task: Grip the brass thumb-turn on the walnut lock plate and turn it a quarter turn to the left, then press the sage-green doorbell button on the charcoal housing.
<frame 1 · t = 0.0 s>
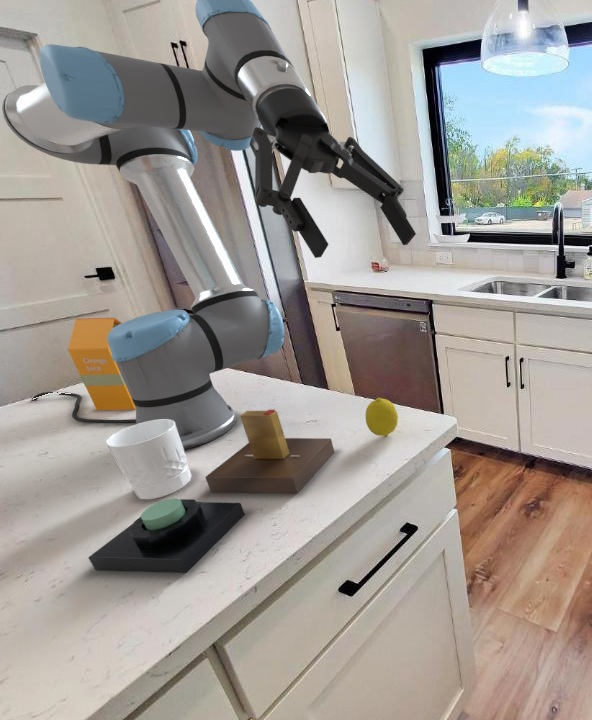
hand: (370, 245, 55), 36 cm above the worktop, tool tilted 35°, fingers open, 13 cm apart
white cup: (165, 486, 67), on the worktop
lemon: (385, 437, 79), on the worktop
doorbell: (176, 540, 56), on the worktop
lock plate: (277, 471, 69), on the worktop
orange juice: (131, 402, 96), on the worktop
bell button: (163, 514, 54), point 4 cm above the worktop, slide at 0.1 cm
lock turn: (265, 434, 67), point 7 cm above the worktop, hinge at 0.0°
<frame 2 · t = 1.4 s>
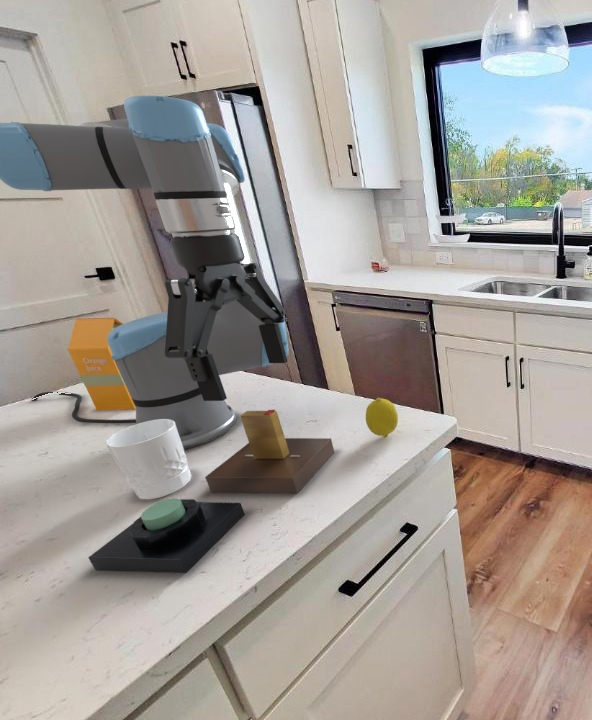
hand: (250, 379, 63), 17 cm above the worktop, tool pointing down, fingers open, 13 cm apart
nothing on the worktop moved.
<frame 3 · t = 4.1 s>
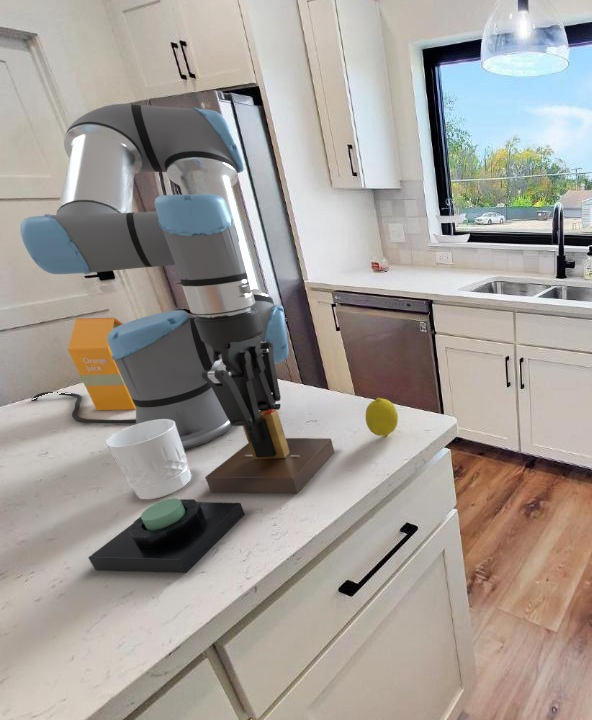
hand: (270, 451, 68), 4 cm above the worktop, tool pointing down, fingers closed on lock turn, 2 cm apart
lock turn: (265, 434, 67), point 7 cm above the worktop, hinge at 5.7°, touching gripper
everything else where it was.
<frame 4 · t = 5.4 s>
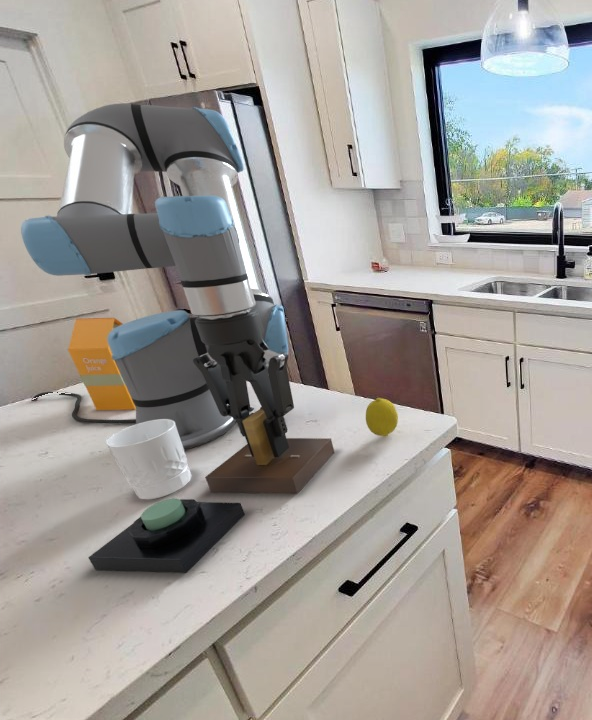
hand: (270, 451, 68), 4 cm above the worktop, tool pointing down, fingers open, 3 cm apart
lock turn: (265, 434, 67), point 7 cm above the worktop, hinge at 89.2°
everything else where it was.
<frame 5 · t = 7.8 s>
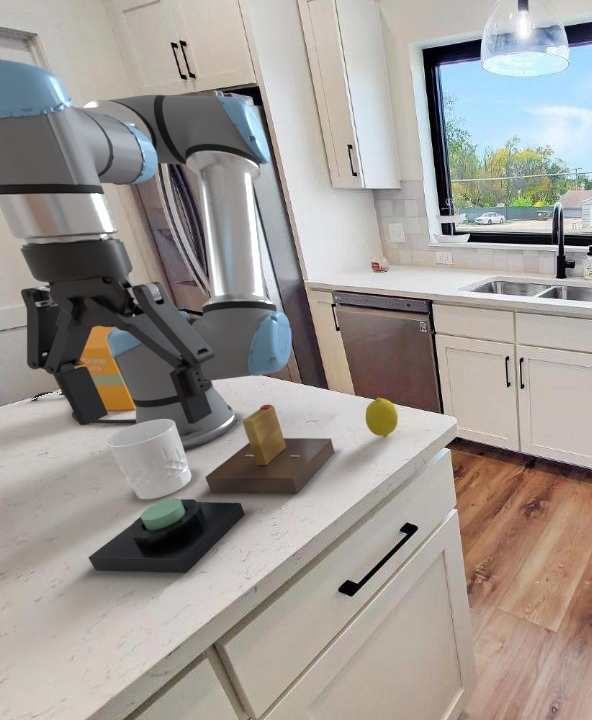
hand: (147, 419, 51), 17 cm above the worktop, tool pointing down, fingers open, 13 cm apart
nothing on the worktop moved.
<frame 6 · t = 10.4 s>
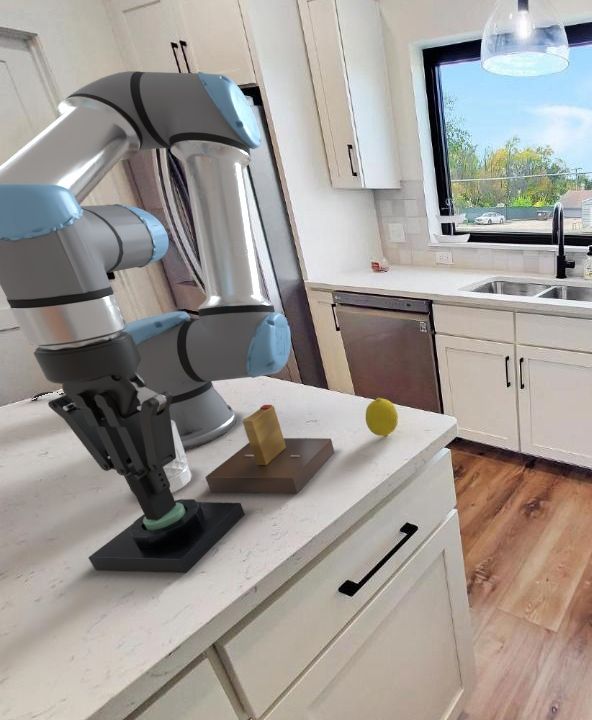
hand: (161, 512, 54), 5 cm above the worktop, tool pointing down, fingers closed
bell button: (165, 518, 54), point 4 cm above the worktop, slide at -0.6 cm, touching gripper
everything else where it was.
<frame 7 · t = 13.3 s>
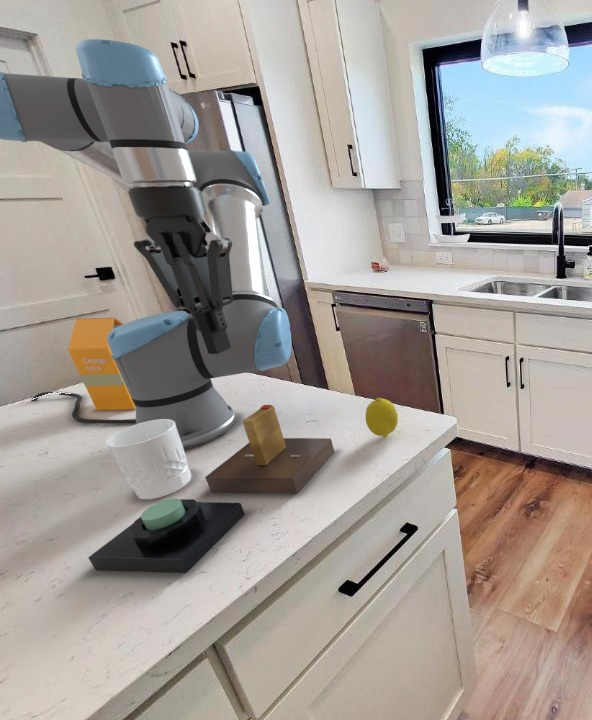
hand: (220, 350, 65), 21 cm above the worktop, tool pointing down, fingers closed
bell button: (163, 514, 54), point 4 cm above the worktop, slide at 0.1 cm
everything else where it was.
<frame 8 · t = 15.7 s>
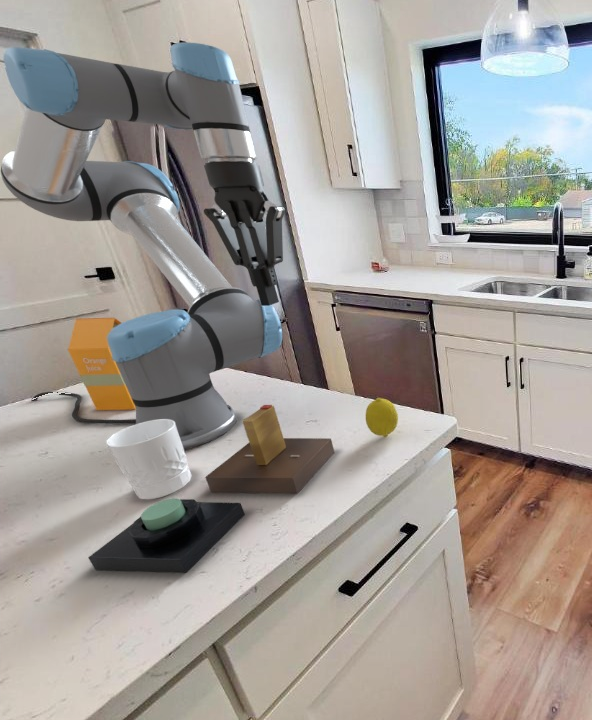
hand: (270, 303, 76), 24 cm above the worktop, tool pointing down, fingers closed
nothing on the worktop moved.
at the end: lock turn at +89° (first picture: +0°); bell button pushed in 1.0 cm at the most during the clip, back to where it started at the end; bell button slide at 0.1 cm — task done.
